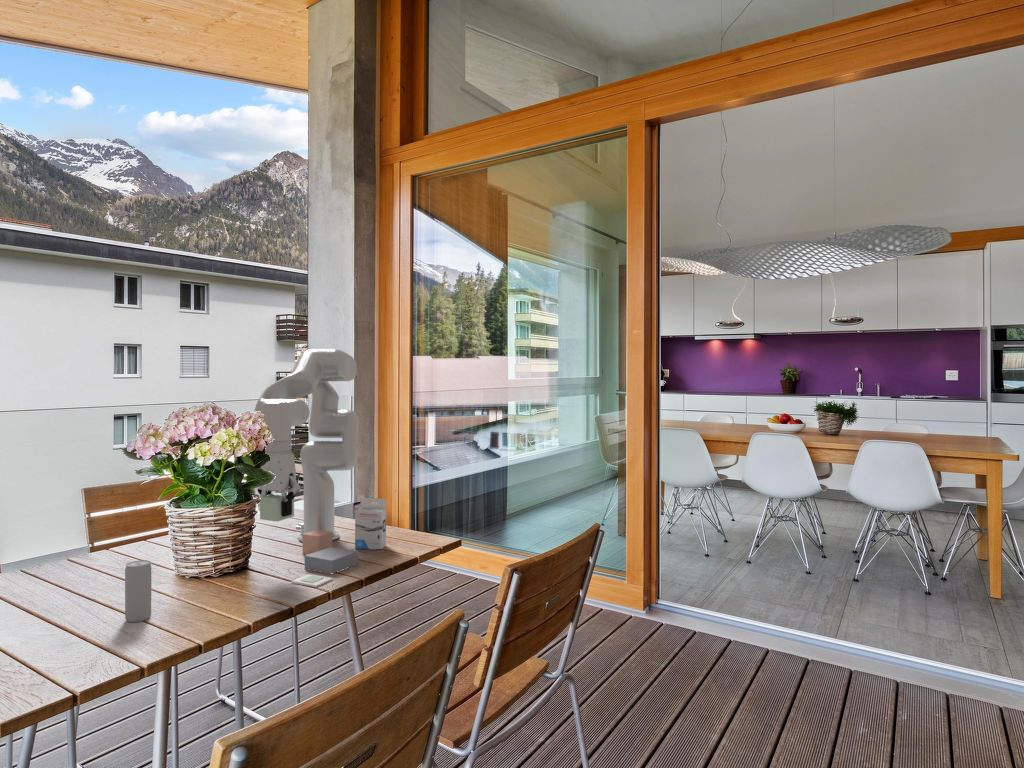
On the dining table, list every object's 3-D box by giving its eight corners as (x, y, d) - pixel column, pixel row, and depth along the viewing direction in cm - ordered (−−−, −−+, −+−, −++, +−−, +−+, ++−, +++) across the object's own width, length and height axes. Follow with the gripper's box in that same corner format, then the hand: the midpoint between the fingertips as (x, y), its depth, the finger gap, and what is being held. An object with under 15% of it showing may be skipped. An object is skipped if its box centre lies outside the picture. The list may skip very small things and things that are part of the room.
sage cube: (260, 519, 160) (259, 496, 160) (277, 514, 165) (277, 492, 165) (277, 521, 158) (276, 498, 157) (294, 516, 163) (293, 494, 163)
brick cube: (302, 554, 178) (302, 534, 178) (316, 549, 184) (316, 529, 184) (318, 556, 176) (318, 536, 176) (332, 551, 181) (332, 531, 181)
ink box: (354, 549, 183) (354, 500, 183) (359, 545, 188) (359, 497, 188) (381, 550, 182) (381, 501, 182) (386, 545, 187) (386, 498, 187)
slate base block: (304, 570, 164) (304, 555, 164) (331, 560, 173) (331, 546, 173) (332, 575, 159) (332, 560, 159) (358, 565, 168) (358, 551, 168)
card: (291, 583, 152) (291, 580, 152) (308, 576, 158) (308, 573, 158) (316, 587, 149) (316, 584, 149) (332, 580, 155) (332, 577, 155)
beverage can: (146, 613, 133) (146, 558, 133) (155, 618, 130) (155, 562, 130) (121, 619, 129) (121, 563, 129) (130, 625, 126) (129, 568, 126)
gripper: (241, 447, 161) (242, 514, 162) (290, 450, 154) (291, 520, 155) (263, 444, 168) (264, 508, 168) (311, 447, 161) (312, 514, 161)
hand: (277, 513), depth 161 cm, fingers closed on sage cube, 6 cm apart
